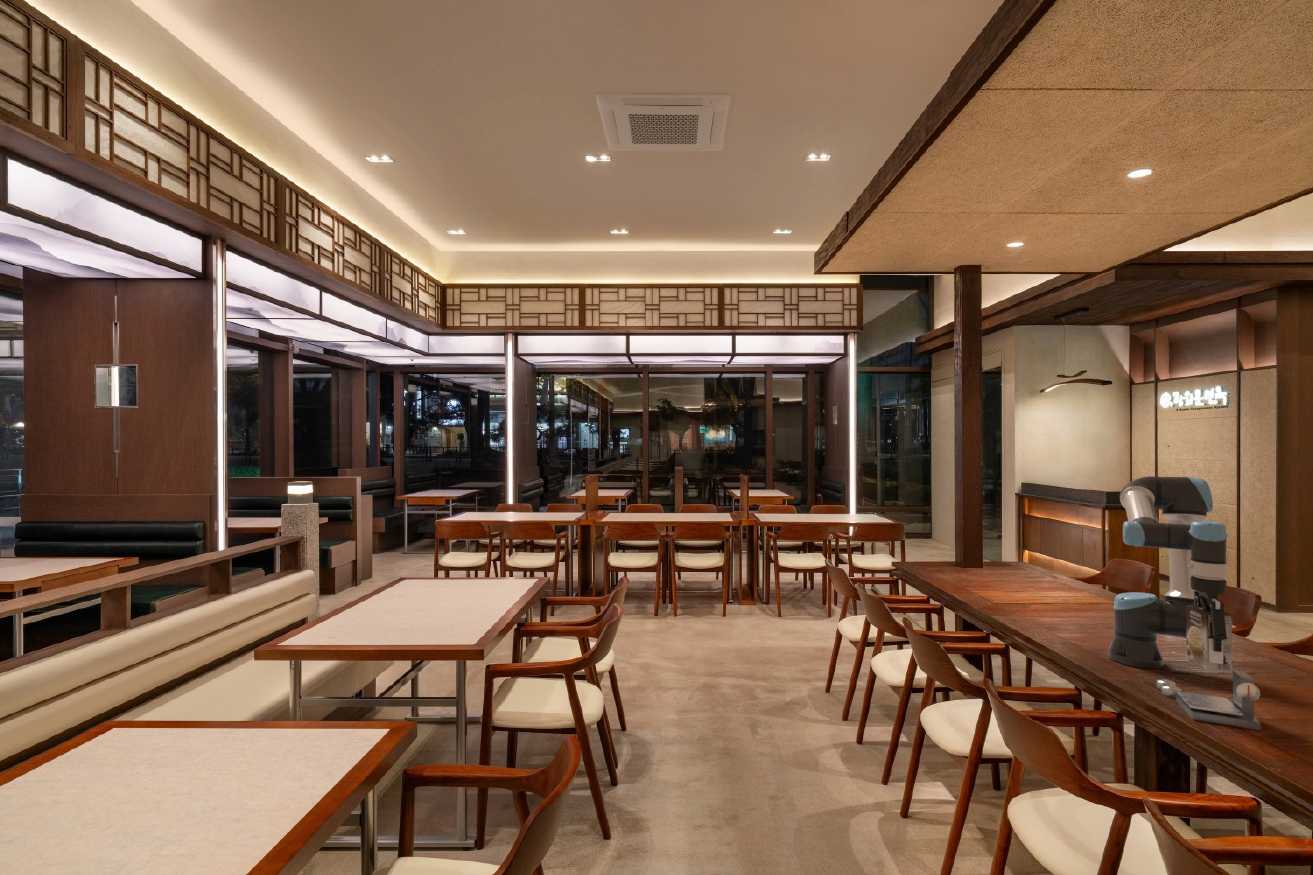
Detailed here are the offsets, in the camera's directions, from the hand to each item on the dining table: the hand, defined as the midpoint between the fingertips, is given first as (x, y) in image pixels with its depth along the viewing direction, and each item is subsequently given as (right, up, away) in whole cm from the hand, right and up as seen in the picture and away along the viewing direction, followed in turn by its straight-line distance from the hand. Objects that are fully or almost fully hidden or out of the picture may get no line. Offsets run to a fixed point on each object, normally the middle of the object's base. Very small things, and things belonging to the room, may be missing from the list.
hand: (1208, 656), depth 170 cm
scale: (+1, -16, -1) cm, 16 cm away
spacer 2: (0, -16, +12) cm, 20 cm away
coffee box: (0, -3, 0) cm, 3 cm away
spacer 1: (+2, -16, +17) cm, 23 cm away
